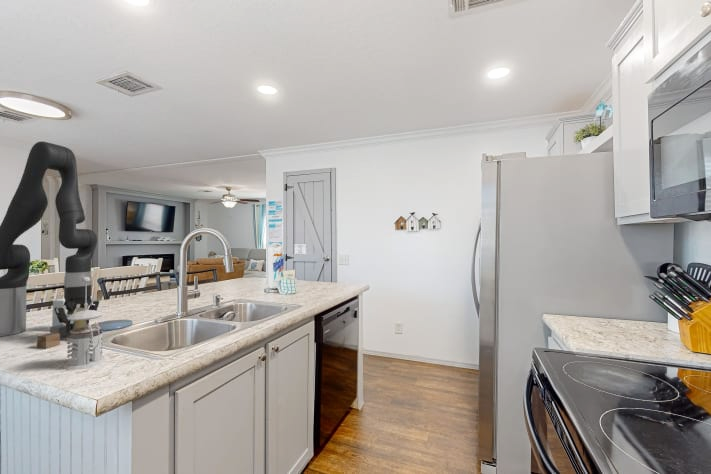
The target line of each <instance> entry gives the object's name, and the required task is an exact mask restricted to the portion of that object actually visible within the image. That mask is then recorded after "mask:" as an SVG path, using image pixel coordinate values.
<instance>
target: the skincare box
mask: <svg viewBox="0 0 711 474" xmlns="http://www.w3.org/2000/svg"><path fill="white" fill-rule="evenodd" d="M64 302H65V298H64V297H63V298H58V299H54V300H52V322H51V323H52V325H51V327H52V326H56V325H61V324H65V323H60V322H59V320H58V318H57V315H56V313H55V310H54V309H55V308H56V307H60V306H63V305H64ZM65 310H66V311H65V314H66V313H67V309H65Z"/></svg>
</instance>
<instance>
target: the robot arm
mask: <svg viewBox="0 0 711 474" xmlns="http://www.w3.org/2000/svg"><path fill="white" fill-rule="evenodd" d="M75 155H76V154H75V153H74V152H73V150H72V149H70V148H69V147H66V146H63V145H60V144H55V143H51V142H47V141H37V142H36V143H35V144H34V145H32V146H31V149H30V150H29V153H28V156H27V159H26V163H25V166H24V170H23V173H22V176H21V178H20V181H19V184H18V186H17V188H16V191H15V192H14V195H13V196H12V199H11V201H10V203H9V205H8V208H7V210H6V211H5V215H4V217H3V218H2V222H1V223H0V271H1V270H7V272H6V273H5V274H4V275H1V276H0V337H4V336H5V337H6V336H11V335H16V334H21V333H24V332H26V331H27V285H28V284H27V282H28V280H29V276H30V265H31V254H30V250H29V248H28V247H27V246H26V245H24V244H15V242H16V241H17V239H18V238H19V237H20V236H22V235H23V234H24V233H26V232H27V231H29V230H30V229H31V228H33V227H34V226H36V225H37V224H38V223H39V222H40V221H41V220H42V218H43V217H44V214H45V212H46V210H47V207H48V204H49V203H48V201H49V200H48V197H47V194H46V190H45V188H44V185H43V183H44V182H43V181H44V176H45V175H46V172H47V170H53V171H57V172H58V173H59V176H60V180H61V183H60V187H59V189H58V191H57V193H56V196H55V199H54V200H55V201H54V202H55V207H56V211H57V215H58V218H59V226H58V241H59V243H60V245H61V246H63V247H64V248H65V249H70V250H71V249H73V250H75V249H76V250H77V251H76V252H75V254H73V255H69V256H67V257H66V258H65V265H64V266H65V269H64V271H65V273H64V280H63V281H64V282H63V283H64V285H63V286H64V287H63V290H64V291H63V298H65V302H64V305H63V306H60V307H56V308H55V309H54V310H55V313H56V315H57V318H58V320H59V322H60V323H65V324H66V332H67V333H68V334H69V332H70V331H71V330H73V329H74V324H73V323H74V321H70V320H68V319H67V317H69V316H70V315H71V314H69V312H73V314H74V313H76V311H77V310H79V308H85V281H82V278H84V277H89V278H90V281H87V291H86V309H87V310H95V311H98V308H99V304H100V301H99V300H92V298H91V296H92V294H93V290H92V289H93V288H92V287H93V282H92V281H93V277H92V259H93V257H94V254H95V250H96V248H97V243H98V236H97V234H96V232H94V231H93V230H92V229H87V228H77V225H79V224H81V223H84V222H85V221H86V215H85V212H84V208H83V205H82V202H81V198H80V192H79V181H78V169H77V159H76V156H75ZM65 309H67V313H66V314H65V311H66V310H65ZM86 323H87V324H88V323H89V324H90V320H86ZM89 324H88V326H89Z"/></svg>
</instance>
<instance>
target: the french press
mask: <svg viewBox="0 0 711 474" xmlns="http://www.w3.org/2000/svg"><path fill="white" fill-rule="evenodd" d="M82 281H85V310H83V311H79V312H76V313H74V314H72V315H70V316H69V317H67V319H68V320H70V321H81V320H85V327H84V328H83V327H82V328H77V329H73V330H71V331H70V332H69V333H70V334H73V335H70V336H69V337H68V341H67V340H66V341H67V351H66V352H67V355H66V357H67V359H66V360H67V361H66V363H65V364H64V365H63V366H62V369H63V370H67V371H76V370H77V371H78V370H85V369H88V368H92V367H97V366H99V365H101V364H103V363H105V362H106V361H107V358H106V357H105V356H103V331H99V330H100V329H101V327H99V326H98V324H97V323H98V322H97V321H95V322H94V326H92V327H91V324H90V322H89V323H88V324H89V326H90V327H89V326H88V324H87V327H86V320H89V321H90V320H94V319H98V318H100V317H102V316H103V315H104V313H103V312H101V311H98V310H97V311H95V310H86V291H87V281H90V278H89V277H84V278H82ZM95 323H96V324H97V326H95V325H96V324H95ZM90 352H92V353H90Z"/></svg>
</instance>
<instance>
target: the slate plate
mask: <svg viewBox="0 0 711 474" xmlns="http://www.w3.org/2000/svg"><path fill="white" fill-rule="evenodd" d="M96 323H97V324H98V326H99V327H101V329H100V330H99V331H101V332H110V331H116V330H117V331H118V330H122V329H126V328H129V327H131V326H132V325H133V320H130V319H113V320H105V321H99V322H96ZM96 323H95V322H94V324H96ZM94 324H90V326H91V327H92V326H94ZM97 324H96V325H95V326H97ZM90 326H89V327H90Z"/></svg>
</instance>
